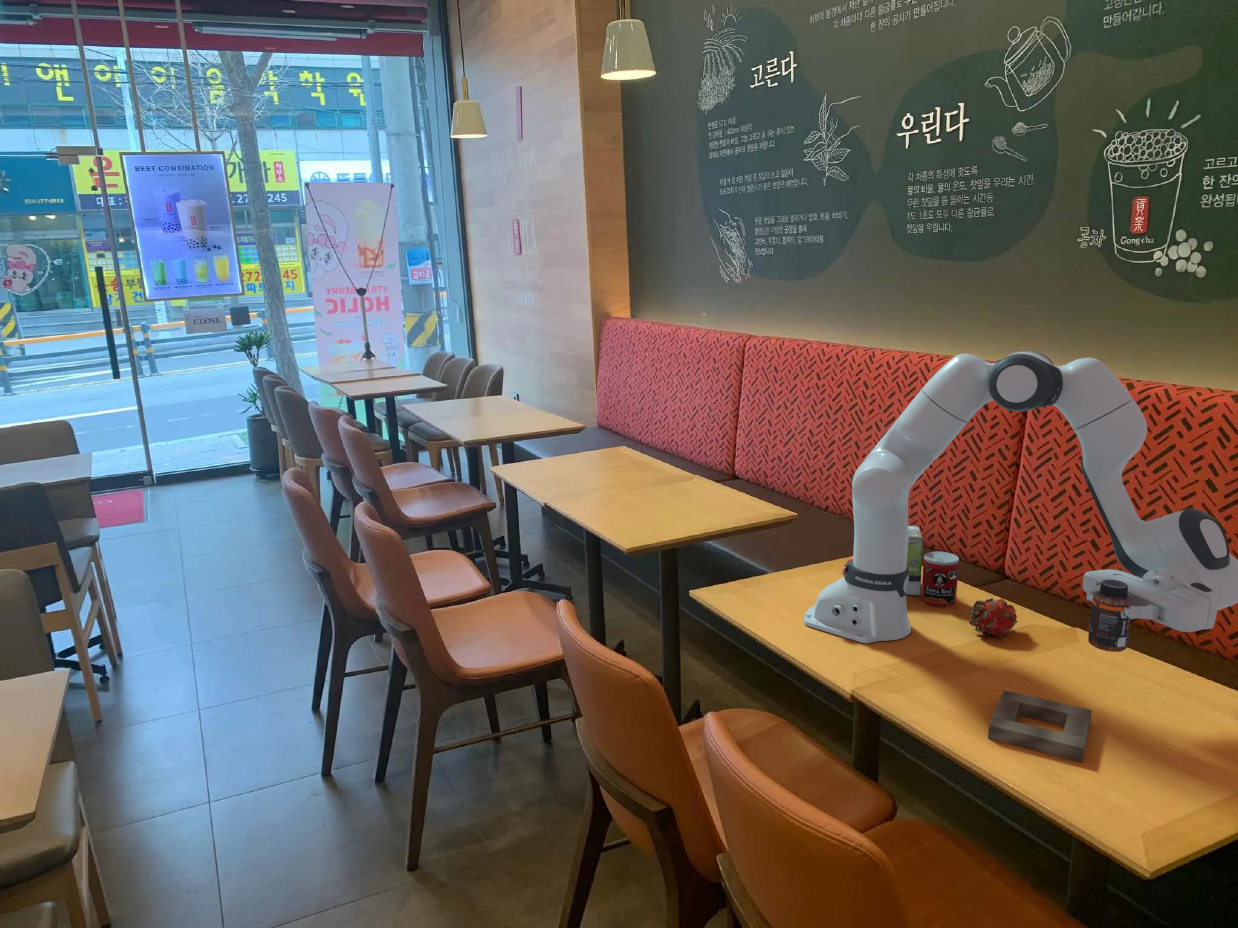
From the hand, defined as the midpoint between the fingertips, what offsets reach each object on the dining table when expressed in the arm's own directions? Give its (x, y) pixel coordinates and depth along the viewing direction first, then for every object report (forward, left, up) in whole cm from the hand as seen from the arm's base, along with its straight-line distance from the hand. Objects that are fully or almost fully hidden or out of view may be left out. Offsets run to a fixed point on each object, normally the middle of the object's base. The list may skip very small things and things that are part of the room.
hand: (1108, 604), depth 147 cm
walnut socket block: (-7, -10, -21) cm, 24 cm away
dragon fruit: (-21, +28, -21) cm, 41 cm away
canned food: (-35, +40, -21) cm, 58 cm away
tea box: (-48, +43, -21) cm, 68 cm away
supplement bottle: (+1, +1, -8) cm, 8 cm away
